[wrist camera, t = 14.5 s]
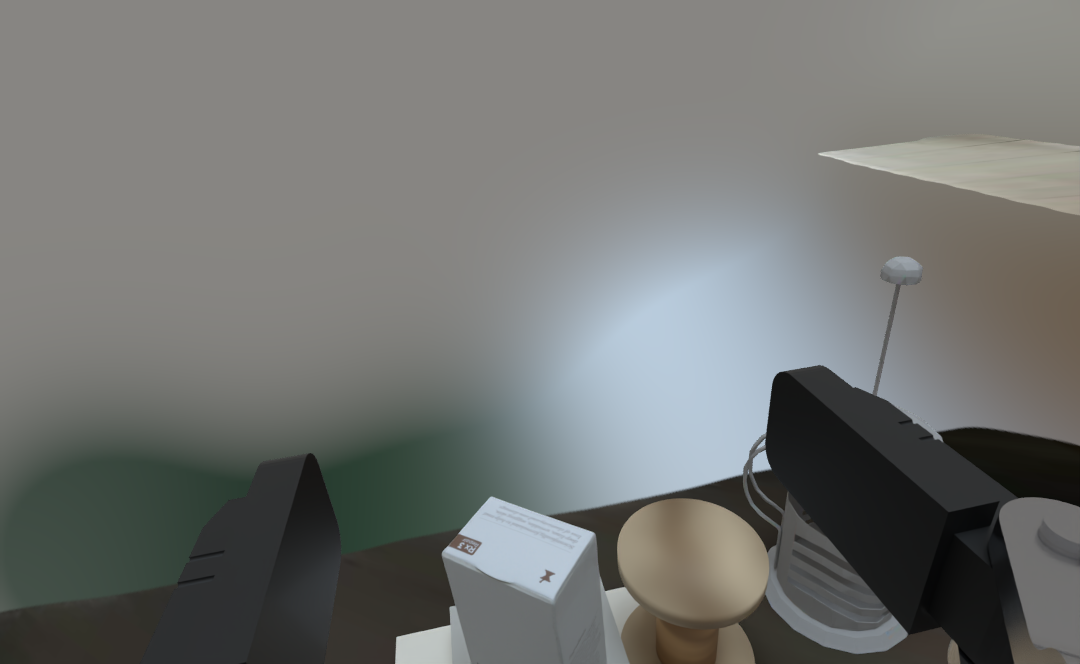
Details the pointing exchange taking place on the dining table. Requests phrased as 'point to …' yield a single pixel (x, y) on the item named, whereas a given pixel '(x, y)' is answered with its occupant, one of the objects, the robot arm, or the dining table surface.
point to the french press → (830, 552)
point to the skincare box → (526, 588)
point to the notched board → (442, 636)
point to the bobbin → (690, 583)
